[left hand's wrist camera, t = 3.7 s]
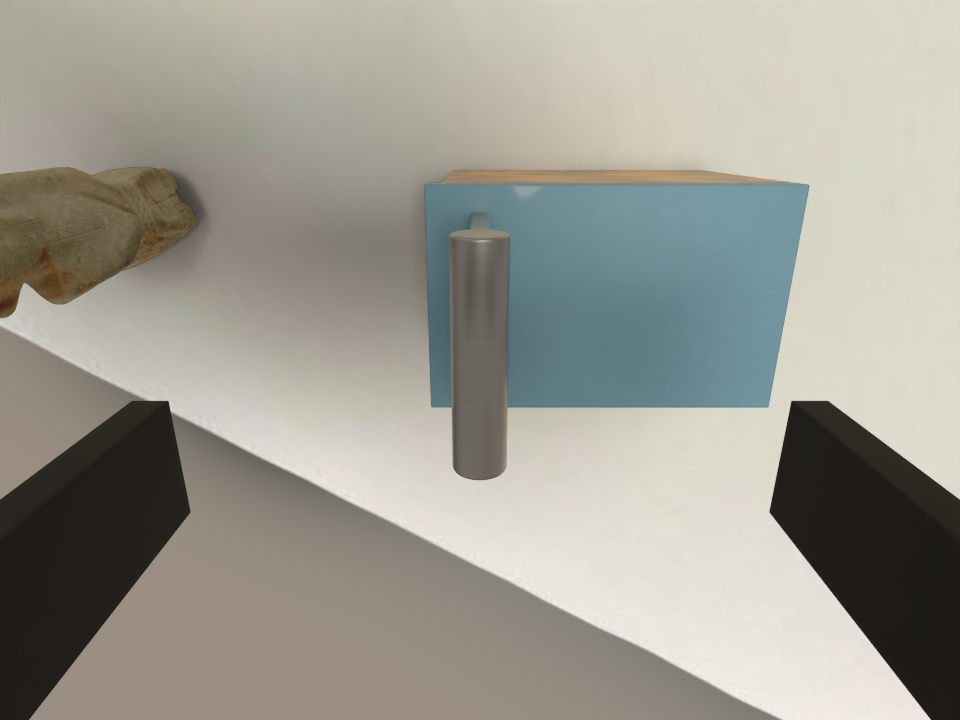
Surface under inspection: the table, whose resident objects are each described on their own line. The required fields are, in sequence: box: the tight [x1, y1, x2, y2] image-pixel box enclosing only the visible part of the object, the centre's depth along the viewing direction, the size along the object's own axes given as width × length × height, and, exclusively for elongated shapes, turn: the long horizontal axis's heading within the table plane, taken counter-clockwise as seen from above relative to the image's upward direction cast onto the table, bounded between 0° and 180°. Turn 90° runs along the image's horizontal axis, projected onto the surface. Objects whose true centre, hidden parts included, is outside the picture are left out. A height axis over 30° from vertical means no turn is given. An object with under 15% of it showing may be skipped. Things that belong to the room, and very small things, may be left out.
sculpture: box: [0, 167, 197, 318], centre depth 28 cm, size 6×7×15 cm
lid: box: [424, 183, 809, 480], centre depth 22 cm, size 15×10×9 cm, turn 90°
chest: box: [442, 170, 790, 183], centre depth 31 cm, size 14×10×10 cm, turn 90°
